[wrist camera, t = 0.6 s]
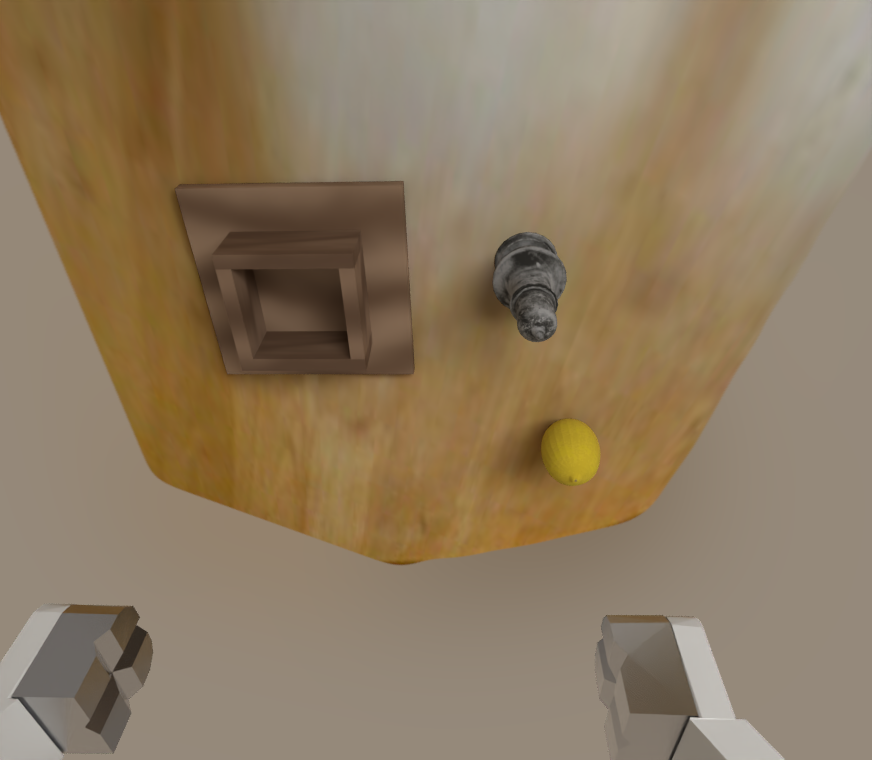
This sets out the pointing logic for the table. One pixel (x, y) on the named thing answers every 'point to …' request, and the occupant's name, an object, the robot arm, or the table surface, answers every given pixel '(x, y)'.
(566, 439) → the lemon
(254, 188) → the caddy
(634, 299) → the table surface
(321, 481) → the table surface
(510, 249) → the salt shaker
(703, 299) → the table surface
